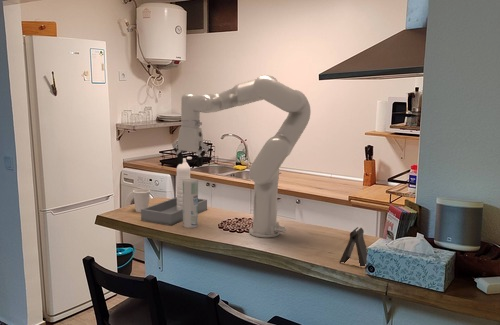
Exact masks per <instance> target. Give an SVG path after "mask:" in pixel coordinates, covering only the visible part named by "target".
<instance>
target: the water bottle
mask: <svg viewBox="0 0 500 325" xmlns="http://www.w3.org/2000/svg"><path fill="white" fill-rule="evenodd" d="M192 159H193V157H192V156H187V157H183V163H182V164H177V166H176V197H177V211H178V210H181V209H183V179H190V178H191V167H190V165H189V163H188V162H187V160H192Z"/></svg>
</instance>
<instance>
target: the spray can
mask: <svg viewBox="0 0 500 325" xmlns="http://www.w3.org/2000/svg"><path fill="white" fill-rule="evenodd" d="M198 199H199V179H197V178H191V177H190V179H183V221H182V226H183V227H184V228H186V229H187V228H188V229H191V228H193V229H194V228H196V227H198V222H199V220H198V218H199V216H198V215H199V214H198Z"/></svg>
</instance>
